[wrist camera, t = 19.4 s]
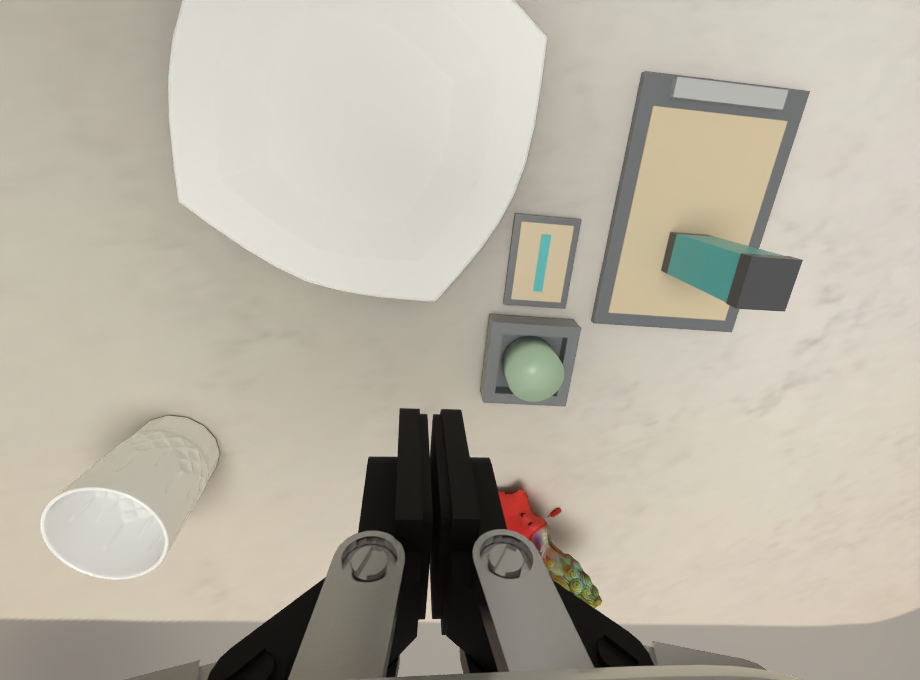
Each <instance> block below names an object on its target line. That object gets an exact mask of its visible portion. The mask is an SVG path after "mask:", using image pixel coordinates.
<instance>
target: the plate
mask: <svg viewBox="0 0 920 680" xmlns="http://www.w3.org/2000/svg"><path fill="white" fill-rule="evenodd" d="M546 44H547V37H546V36H545V35H544V33H543V32H542V31H541V30H540V29H539V28H538V26H537V25H536V24H535V23H534V22H533V21H532V20H531V18H530V17H529V16H528V15H527V14H526V13H525V12H524V10H523V9H522V8H521V7H520V6H519V5H518V4H517V3H516V2H515V1H514V0H182V4H181V8H180V11H179V15H178V19H177V23H176V26H175V30H174V34H173V37H172V46H171V55H170V64H169V73H168V103H169V126H170V136H171V146H172V155H173V164H174V172H175V179H176V187H177V195H178V202H180V203H181V204H182V205H184V206H185V207H186V208H188V209H189V210H190V211H192V212H193V213H194V214H196V215H197V216H198V217H200V218H201V219H202V220H204V221H205V222H206V223H208V224H209V225H211V226H212V227H214V228H215V229H217V230H218V231H219V232H221V233H222V234H224V235H225V236H227V237H228V238H230V239H231V240H233V241H234V242H236V243H237V244H239V245H240V246H241V247H243V248H244V249H246V250H248V251H249V252H251V253H253V254H255V255H256V256H258V257H260V258H261V259H263V260H265V261H266V262H268V263H270V264H271V265H273V266H275V267H277V268H279V269H281V270H283V271H285V272H287V273H289V274H291V275H293V276H295V277H298V278H300V279H302V280H304V281H306V282H310V283H313V284H317V285H321V286H324V287H328V288H331V289H335V290H339V291H345V292H351V293H356V294H362V295H367V296H375V297H384V298H394V299H403V300H418V301H435V302H436V300H437V299H438V298H439V297H440V296H441V295H442V294H443V293H444V291H445V290H446V289H447V288H448V287H449V286H450V285H451V284H452V283H453V281H454V280H455V279H456V278H457V277H458V276H459V275H460V273H461V272H462V271H463V270H464V269H465V267H466V266H467V265H468V264H469V263H470V261H471V260H472V259H473V258H474V257H475V256H476V254H477V253H478V252H479V251H480V249H481V248H482V247H483V245H484V244H485V242H486V241H487V239H488V238H489V237H490V235H491V234H492V232H493V231H494V229H495V228H496V227H497V225H498V224H499V222H500V220H501V219H502V217H503V215H504V213H505V211H506V209H507V207H508V205H509V204H510V202H511V200H512V198H513V196H514V194H515V191H516V189H517V186H518V183H519V180H520V178H521V175H522V172H523V170H524V167H525V164H526V160H527V156H528V152H529V148H530V144H531V139H532V135H533V131H534V127H535V121H536V115H537V108H538V102H539V95H540V89H541V83H542V75H543V67H544V59H545V52H546Z"/></svg>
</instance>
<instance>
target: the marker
mask: <svg viewBox="0 0 920 680" xmlns="http://www.w3.org/2000/svg"><path fill="white" fill-rule="evenodd" d="M802 261H803V260H801V259H797V258H794V257H790V256H783V255H779V254H775V253H772V252H768V251H765V250H761V249H757V248H754V247H750V246H747V245H743V244H739V243H736V242H732V241H729V240H725V239H721V238H718V237H714V236H711V235H706V234H692V233H678V232H670V234H669V239H668V243H667V247H666V251H665V255H664V260H663V264H662V268H661V271H662V272H665V273H667V274H669V275H671V276H673V277H675V278H677V279H679V280H681V281H683V282H685V283H687V284H689V285H691V286H693V287H695V288H697V289H699V290H701V291H704V292H706V293H708V294H710V295H712V296H714V297H716V298H718V299H720V300H722V301H724V302H726V304H728V305H730V306H732V307H734V308H736V309H752V310H769V311H785V309H786V307H787V304H788V301H789V298H790V295H791V292H792V289H793V286H794V284H795V281H796V278H797V275H798V272H799V269H800V266H801V264H802Z"/></svg>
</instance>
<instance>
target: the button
mask: <svg viewBox="0 0 920 680" xmlns="http://www.w3.org/2000/svg"><path fill="white" fill-rule="evenodd" d="M502 368H503V371H504V374H505V377H506V380H507V382H508V385H509V388H510V390H511V391H512V393H513V394H514V395H515V396H517V397H518V398H520V399H522V400H524V401H529V402H537V401H542V400H545V399H547V398H549V397H551V396H552V395H554V394H555V393H556V392H557V391H558V390H559V388H560V387H561V385H562V383H563V380H564V367H563V364H562V362H561V361H560V359H559V358H558V356H557V355H556V353H555V352H554V350H553V349H552V347H551V346H550V345H549V343H548V342H546V341H545V340H543V339H541V338H538V337H533V336H529V337H523V338H520V339H518V340H516V341H514V342H513V343H511V344H510V345H509V346H508V348H507V349H506V350H505V352H504V354H503V358H502Z"/></svg>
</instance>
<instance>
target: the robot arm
mask: <svg viewBox="0 0 920 680" xmlns="http://www.w3.org/2000/svg"><path fill="white" fill-rule="evenodd" d="M429 564H430V582H431V606H432V619H441V631H442V635H446V636H447V637H448V638H450V639H451V640H452V641H453V642H454V643H455V644H456V645H457V646H459V647H460V661H461V665H462V670H463V674H450V675H430V676H410V677H397V675H398V670H399V663H400V654H401V653H402V651H403V650H404V649H405V648H406V647H407V646H408V645H409V644H410V643H411V642H412V641H413V640H414V639H415V638H416V637H417V627H418V620H419V619H425V614H426V601H427V589H428V577H429ZM125 680H803V679H800V678H797V677H794V676H790V675H786V674H781V673H777V672H771V671H768V670H766V669H765V668H763V667H762V666H760V665H758V664H757V663H753V662H751V661H748V660H745V659H741V658H736V657H730V656H726V655H720V654H716V653H711V652H705V651H700V650H695V649H690V648H685V647H680V646H675V645H670V644H664V643H660V642H655V641H653V642H652V644H651V647H650V646H645V645H642V643H641V642H640V641H639V640H638V639H637V638H635V637H634V636H633V635H632V634H631V633H629V632H628V631H627V630H625V629H624V628H622V627H621V626H619V625H618V624H616V623H615V622H614V621H612V620H611V619H609V618H608V617H606V616H605V615H603V614H602V613H600V612H599V611H597V610H596V609H595V608H593V607H592V606H590V605H589V604H587V603H586V602H584V601H583V600H581V599H580V598H578V597H577V596H576V595H574V594H573V593H571V592H570V591H568V590H567V589H565V588H564V587H562V586H561V585H560V584H558V583H557V582H555V581H554V580H552V579H551V577H550V575H549V573H548V571H547V568H546V566H545V564H544V562H543V560H542V558H541V556H540V554H539V552H538V550H537V549H536V547H535V546H534V544H533V543H532V542H531V541H530V540H529V539H527V538H526V537H525V536H523V535H521V534H519V533H517V532H515V531H510V530H507V526H506V522H505V518H504V514H503V510H502V505H501V501H500V497H499V493H498V489H497V485H496V481H495V476H494V472H493V468H492V464H491V461H490V459H489V458H470V456H469V451H468V445H467V440H466V434H465V428H464V423H463V417H462V412H461V410H453V409H441V412H440V414H433V422H432V436H431V450H430V454H429V436H428V418H427V414H420V409H406V408H400V415H399V438H398V457H369V458H368V464H367V471H366V478H365V486H364V493H363V501H362V508H361V516H360V523H359V531H358V533H356V534H354V535H353V536H351V537H349V538H347V539H346V540H345V541H344V542H343V543H342V544H341V545H339V547H338V549H337V550H336V552H335V554H334V557H333V559H332V562H331V565H330V567H329V570H328V573H327V575H326V577H325V578H324V579H323V580H321V581H320V582H319V583H317V584H316V585H315V586H313V587H312V588H311V589H309V590H308V591H307V592H305V593H304V594H303V595H301V596H300V597H299V598H297V599H296V600H295V601H293V602H292V603H291V604H289V605H288V606H287V607H285V608H284V609H283V610H281V611H280V612H279V613H277V614H276V615H274V616H273V617H272V618H270V619H269V620H268V621H266V622H265V623H264V624H262V625H261V626H260V627H258V628H257V629H256V630H254V631H253V632H252V633H250V634H249V635H248V636H246V637H245V638H244V639H242V640H241V641H240V642H238V643H237V644H236V645H235V646H233V647H232V648H230V649H229V650H228V651H227V652H226V653H225V654H224V655H223V656H222V657H221V658H220V659H219V660H218V661H217V662H215V663H212V664H207V665H204V666H201V662H200V660H198V661H195V662H191V663H188V664H183V665H179V666H175V667H172V668H168V669H164V670H160V671H156V672H152V673H148V674H144V675H140V676H137V677H133V678H129V679H125Z"/></svg>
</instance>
